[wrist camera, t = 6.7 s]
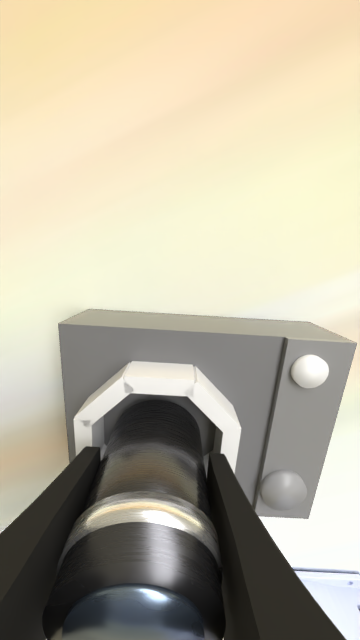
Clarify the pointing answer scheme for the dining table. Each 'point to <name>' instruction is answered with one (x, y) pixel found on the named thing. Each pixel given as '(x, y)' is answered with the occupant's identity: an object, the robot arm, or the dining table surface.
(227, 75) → the dining table surface
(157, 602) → the lens
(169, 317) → the camera body
